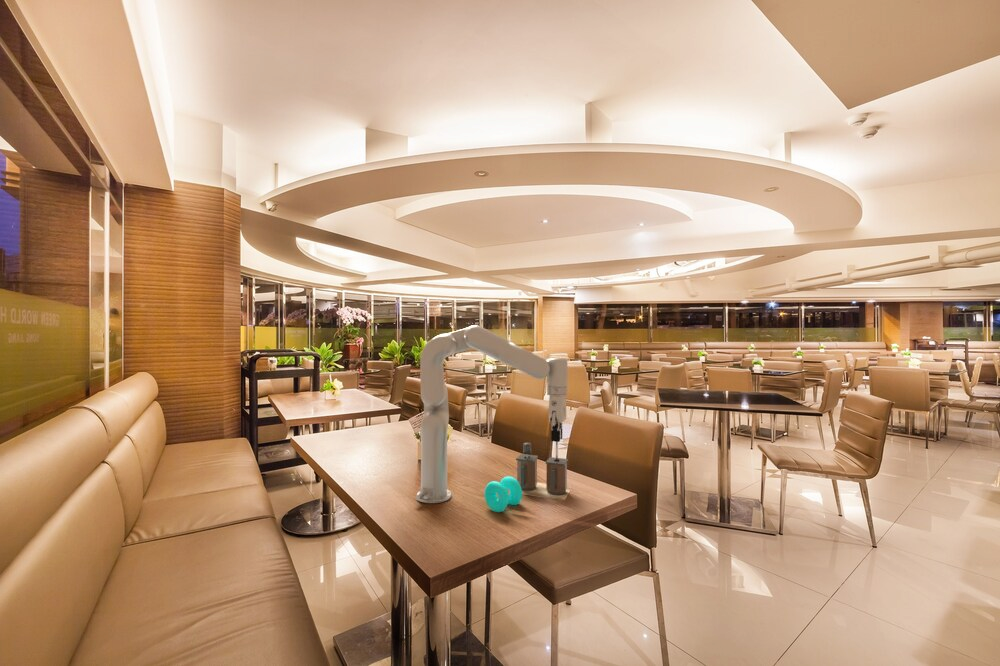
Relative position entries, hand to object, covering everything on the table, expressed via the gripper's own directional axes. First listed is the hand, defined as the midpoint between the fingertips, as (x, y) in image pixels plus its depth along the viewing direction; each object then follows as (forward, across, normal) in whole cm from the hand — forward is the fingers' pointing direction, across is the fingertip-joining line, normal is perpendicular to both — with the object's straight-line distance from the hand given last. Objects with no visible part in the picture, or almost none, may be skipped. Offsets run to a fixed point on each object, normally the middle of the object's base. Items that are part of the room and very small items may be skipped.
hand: (556, 439), depth 155 cm
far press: (+19, -1, +11) cm, 23 cm away
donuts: (+21, -18, +14) cm, 31 cm away
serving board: (+21, 0, +6) cm, 21 cm away
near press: (+19, -1, 0) cm, 19 cm away
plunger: (+12, 0, 0) cm, 12 cm away
